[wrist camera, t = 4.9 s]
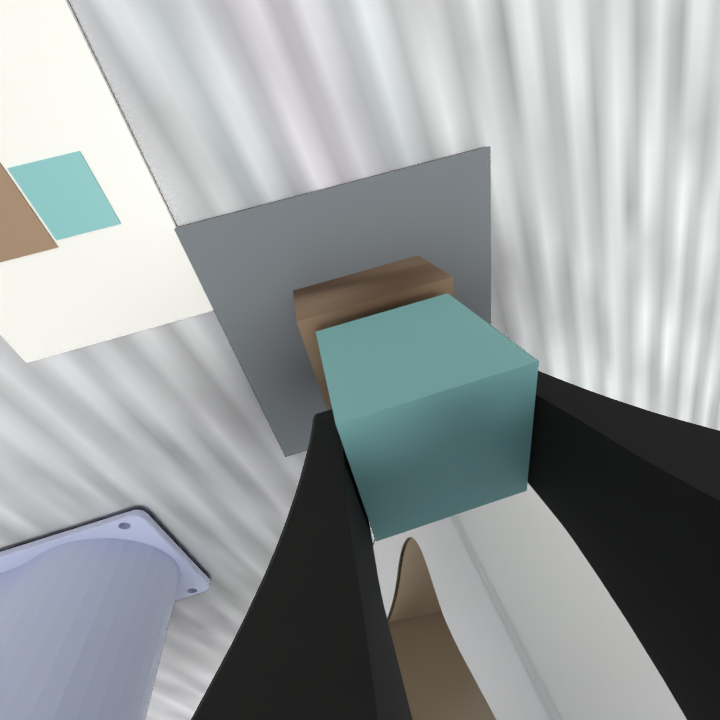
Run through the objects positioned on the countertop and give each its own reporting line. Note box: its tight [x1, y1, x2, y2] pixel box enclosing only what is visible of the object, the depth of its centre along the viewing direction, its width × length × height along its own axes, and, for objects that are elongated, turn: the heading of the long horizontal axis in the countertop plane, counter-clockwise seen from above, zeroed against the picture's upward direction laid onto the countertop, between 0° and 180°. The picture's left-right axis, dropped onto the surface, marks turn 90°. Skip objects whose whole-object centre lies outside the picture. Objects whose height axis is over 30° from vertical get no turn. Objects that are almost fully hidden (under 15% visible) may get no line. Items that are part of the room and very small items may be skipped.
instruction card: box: [0, 0, 214, 363], centre depth 10 cm, size 7×9×1 cm
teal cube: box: [316, 293, 539, 542], centre depth 9 cm, size 4×4×4 cm
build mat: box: [174, 147, 491, 457], centre depth 14 cm, size 11×11×1 cm
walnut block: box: [293, 256, 454, 410], centre depth 13 cm, size 5×5×3 cm
